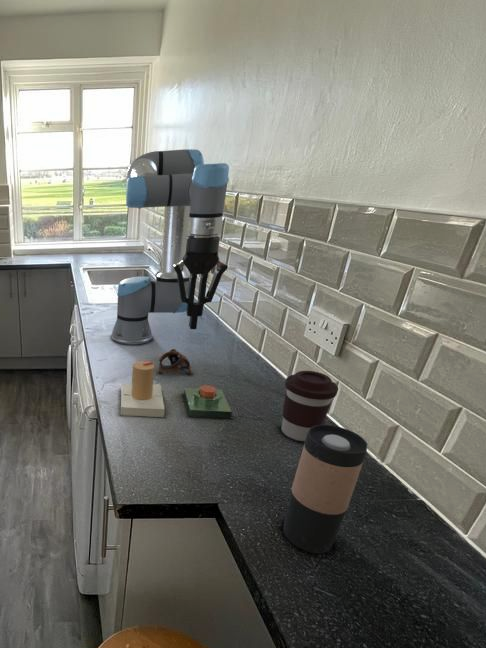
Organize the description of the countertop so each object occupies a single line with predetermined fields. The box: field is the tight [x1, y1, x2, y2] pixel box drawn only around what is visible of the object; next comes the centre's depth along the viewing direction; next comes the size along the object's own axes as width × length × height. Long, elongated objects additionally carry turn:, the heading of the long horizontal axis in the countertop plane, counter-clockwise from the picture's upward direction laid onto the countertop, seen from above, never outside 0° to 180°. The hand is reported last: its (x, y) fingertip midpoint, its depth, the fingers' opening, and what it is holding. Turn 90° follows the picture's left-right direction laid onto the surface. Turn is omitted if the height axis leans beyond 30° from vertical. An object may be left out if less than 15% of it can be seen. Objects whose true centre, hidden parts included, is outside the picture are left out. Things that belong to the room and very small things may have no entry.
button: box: [199, 384, 217, 397], centre depth 106 cm, size 4×4×2 cm
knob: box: [131, 360, 155, 400], centre depth 108 cm, size 6×6×9 cm
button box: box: [183, 387, 232, 420], centre depth 107 cm, size 12×10×4 cm
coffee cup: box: [280, 370, 339, 442], centre depth 92 cm, size 10×10×15 cm
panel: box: [120, 382, 166, 418], centre depth 110 cm, size 14×11×3 cm
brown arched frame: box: [158, 348, 192, 376], centre depth 127 cm, size 12×10×8 cm
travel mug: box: [282, 424, 368, 554], centre depth 64 cm, size 8×8×20 cm
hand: (192, 327), depth 107 cm, fingers closed
